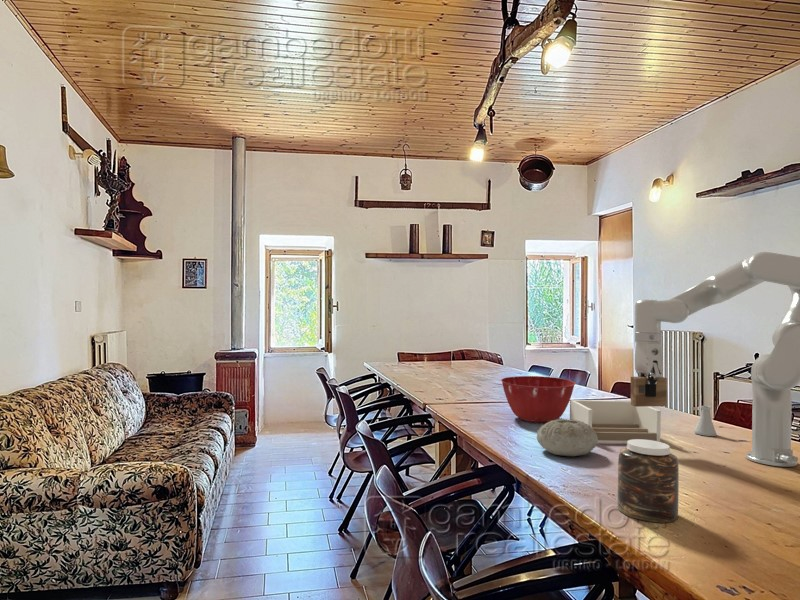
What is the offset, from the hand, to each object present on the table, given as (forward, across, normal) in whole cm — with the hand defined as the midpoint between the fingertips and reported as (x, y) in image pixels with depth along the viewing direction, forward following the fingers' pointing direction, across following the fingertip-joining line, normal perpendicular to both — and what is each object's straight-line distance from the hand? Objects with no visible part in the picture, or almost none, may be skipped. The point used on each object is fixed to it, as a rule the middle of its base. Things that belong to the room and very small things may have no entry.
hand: (647, 395), depth 172 cm
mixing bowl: (+17, +41, +24) cm, 50 cm away
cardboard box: (+3, 0, 0) cm, 3 cm away
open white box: (+17, +14, +5) cm, 23 cm away
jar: (+17, -54, +26) cm, 62 cm away
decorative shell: (+17, -7, +28) cm, 34 cm away
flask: (+17, +20, -31) cm, 41 cm away
